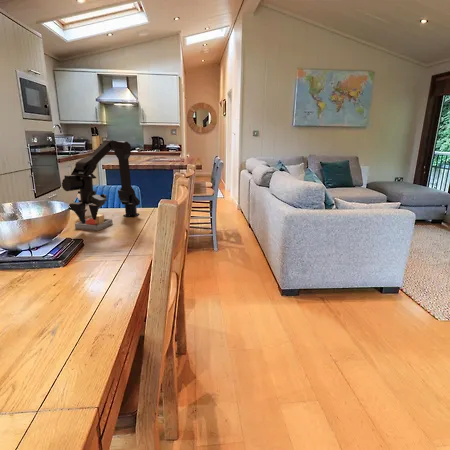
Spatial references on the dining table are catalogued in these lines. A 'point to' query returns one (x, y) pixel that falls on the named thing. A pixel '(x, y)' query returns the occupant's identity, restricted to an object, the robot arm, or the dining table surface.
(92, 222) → the tomato
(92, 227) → the dish
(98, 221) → the block
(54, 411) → the dining table surface
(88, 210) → the soft serve ice cream cone
